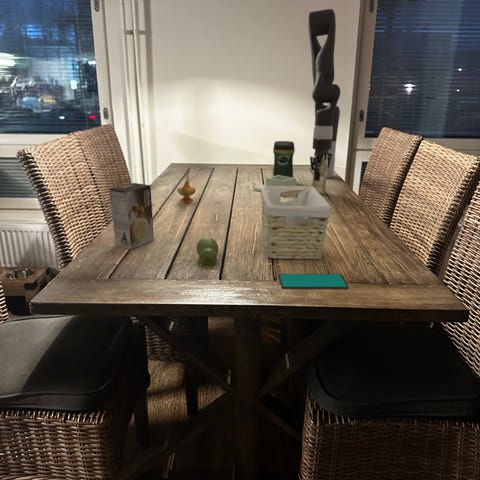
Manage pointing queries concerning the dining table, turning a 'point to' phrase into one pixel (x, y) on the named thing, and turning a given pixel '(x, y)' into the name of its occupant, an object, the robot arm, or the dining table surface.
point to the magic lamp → (186, 190)
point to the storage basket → (293, 222)
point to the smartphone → (312, 281)
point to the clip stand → (277, 182)
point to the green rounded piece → (207, 251)
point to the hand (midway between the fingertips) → (319, 179)
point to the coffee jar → (283, 158)
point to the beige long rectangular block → (321, 177)
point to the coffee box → (132, 215)
